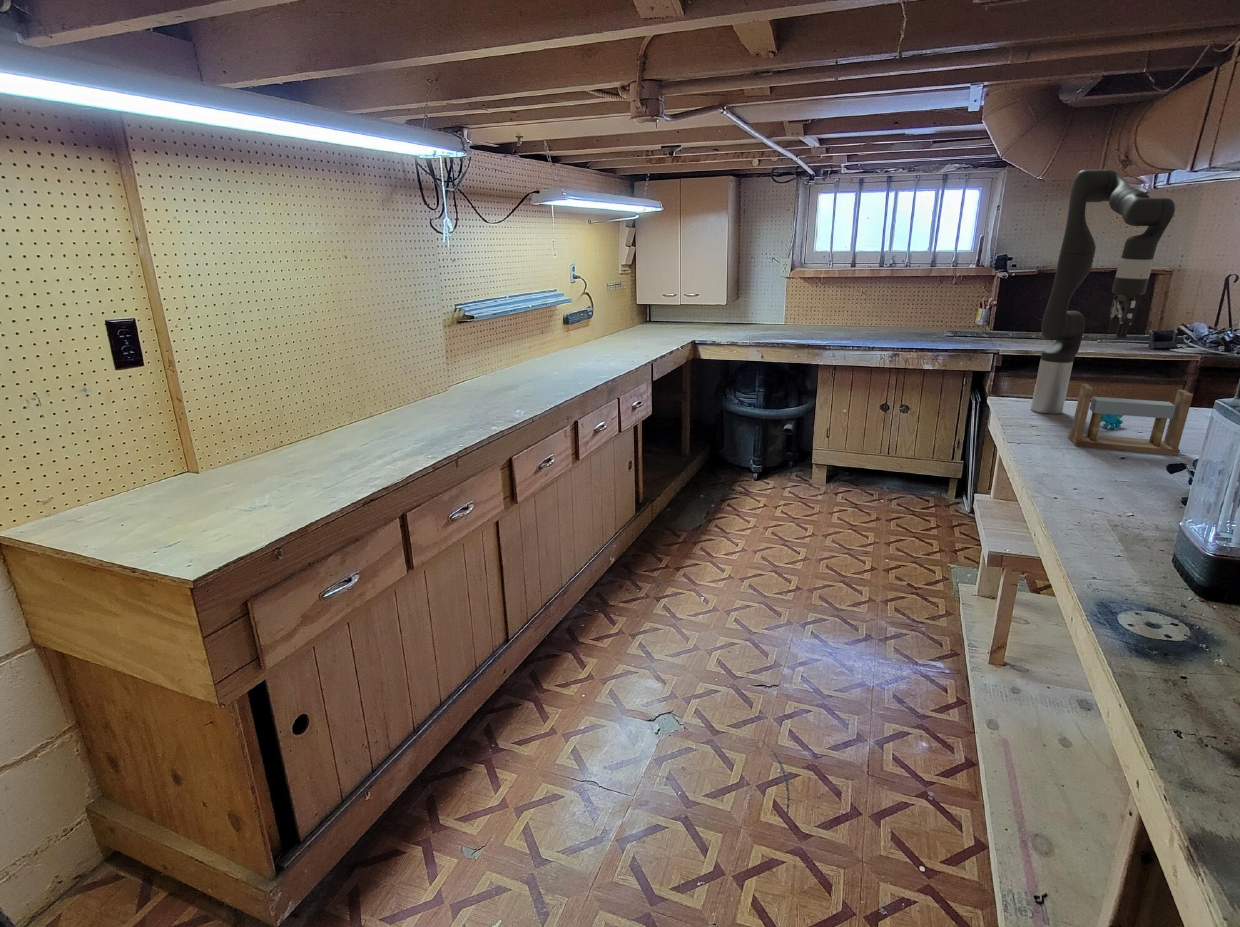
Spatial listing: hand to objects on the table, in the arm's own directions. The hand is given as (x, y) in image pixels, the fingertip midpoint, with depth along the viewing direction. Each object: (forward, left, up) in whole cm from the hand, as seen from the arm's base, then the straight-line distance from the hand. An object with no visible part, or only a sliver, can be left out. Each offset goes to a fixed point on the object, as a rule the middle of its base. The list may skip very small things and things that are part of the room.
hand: (1116, 335), depth 188 cm
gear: (-14, +6, -30) cm, 34 cm away
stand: (+8, +5, -30) cm, 31 cm away
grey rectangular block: (+8, +5, -20) cm, 23 cm away
